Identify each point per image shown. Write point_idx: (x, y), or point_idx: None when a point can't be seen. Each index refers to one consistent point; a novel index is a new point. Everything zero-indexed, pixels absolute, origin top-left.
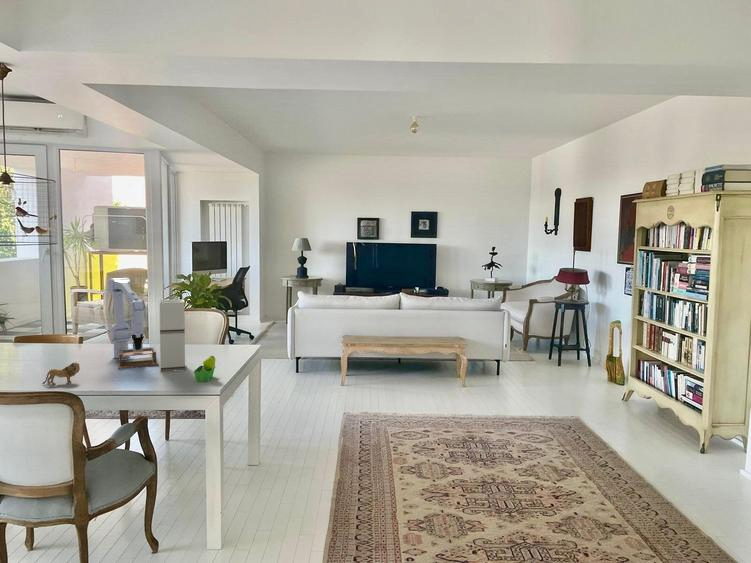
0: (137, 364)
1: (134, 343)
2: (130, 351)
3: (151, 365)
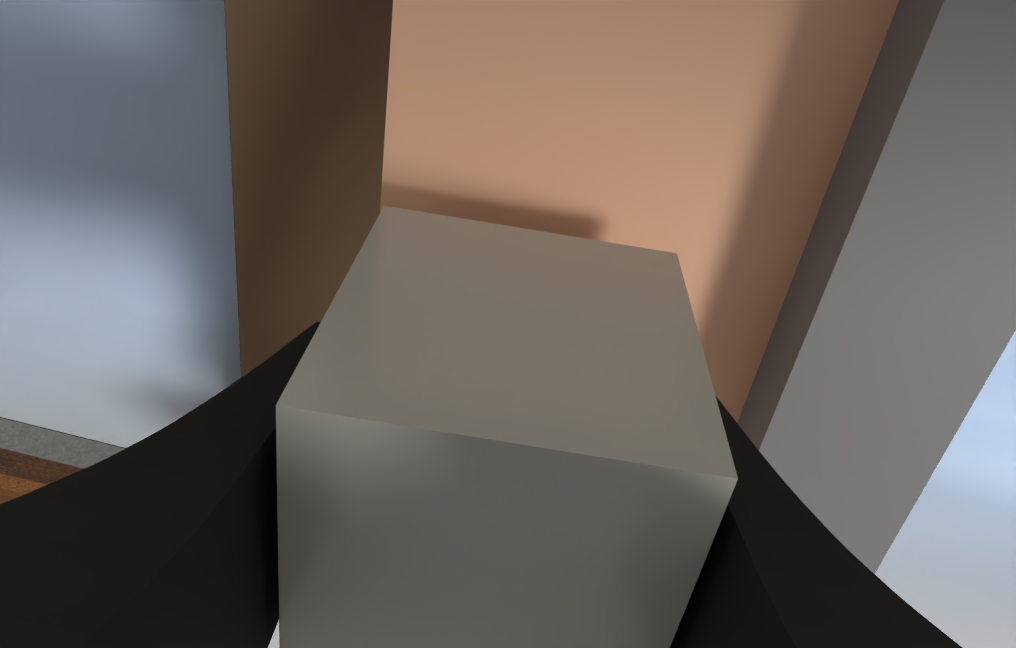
0: (373, 168)
1: (146, 438)
2: (829, 195)
3: (244, 362)
